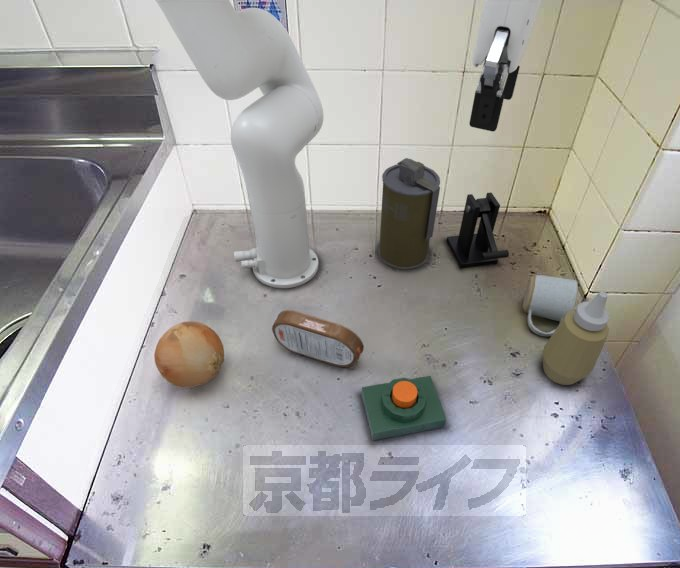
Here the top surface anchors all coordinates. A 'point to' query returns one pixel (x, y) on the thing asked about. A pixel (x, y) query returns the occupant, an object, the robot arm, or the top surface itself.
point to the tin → (317, 338)
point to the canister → (407, 213)
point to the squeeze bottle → (577, 342)
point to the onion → (189, 354)
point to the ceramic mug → (549, 299)
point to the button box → (402, 409)
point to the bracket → (467, 242)
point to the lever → (489, 232)
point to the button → (404, 394)
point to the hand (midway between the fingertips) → (491, 111)
